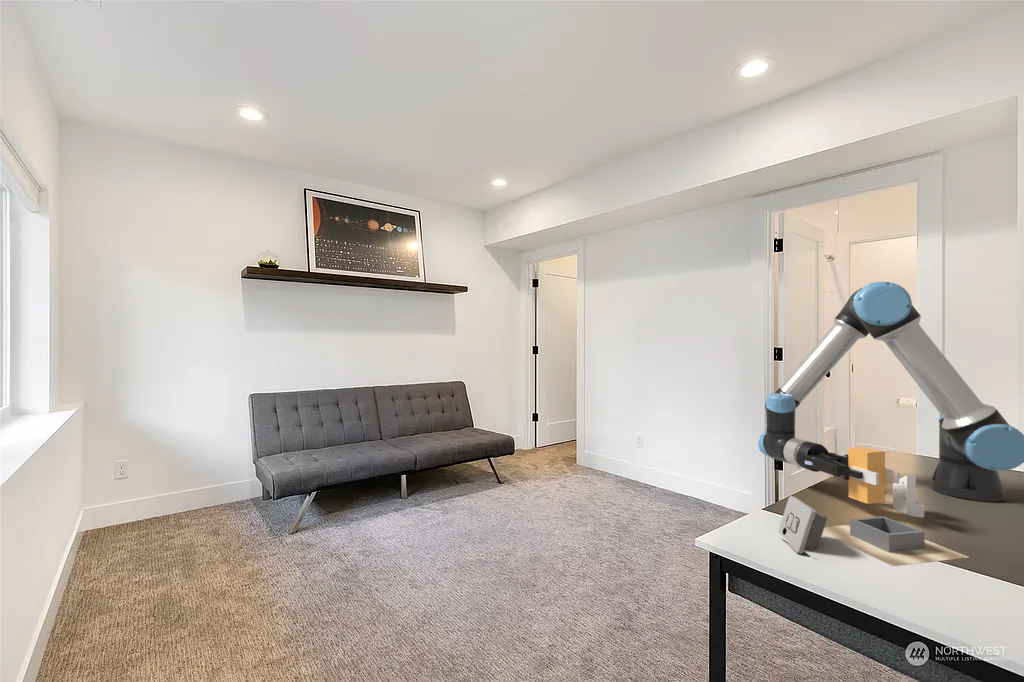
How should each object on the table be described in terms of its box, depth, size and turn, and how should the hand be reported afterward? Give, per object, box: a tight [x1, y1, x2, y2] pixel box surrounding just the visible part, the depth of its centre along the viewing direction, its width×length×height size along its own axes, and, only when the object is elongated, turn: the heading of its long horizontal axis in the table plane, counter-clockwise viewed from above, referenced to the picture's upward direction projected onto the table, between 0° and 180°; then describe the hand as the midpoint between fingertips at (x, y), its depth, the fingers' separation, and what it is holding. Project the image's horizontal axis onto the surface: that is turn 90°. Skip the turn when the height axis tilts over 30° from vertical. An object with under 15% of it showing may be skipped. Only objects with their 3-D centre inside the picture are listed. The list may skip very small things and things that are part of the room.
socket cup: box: [849, 516, 926, 553], centre depth 100 cm, size 9×9×3 cm
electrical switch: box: [777, 495, 828, 555], centre depth 100 cm, size 9×5×9 cm, turn 175°
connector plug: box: [847, 446, 886, 505], centre depth 116 cm, size 5×5×12 cm
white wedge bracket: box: [892, 474, 925, 518], centre depth 119 cm, size 4×10×9 cm, turn 168°
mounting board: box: [822, 524, 970, 567], centre depth 100 cm, size 18×18×1 cm
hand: (887, 478), depth 111 cm, fingers closed on connector plug, 5 cm apart
